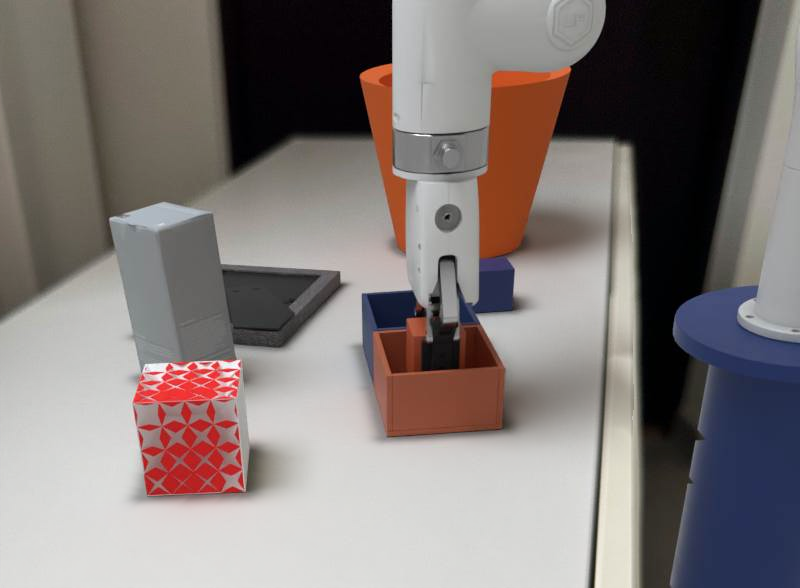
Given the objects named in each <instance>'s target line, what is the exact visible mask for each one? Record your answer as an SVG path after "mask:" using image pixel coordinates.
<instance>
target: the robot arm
mask: <svg viewBox="0 0 800 588" xmlns="http://www.w3.org/2000/svg"><path fill="white" fill-rule="evenodd" d="M391 3H392V4H391V9H392V11H391V13H392V14H391V20H392V23H391V25H392V27H391V30H392V31H391V33H392V34H391V36H392V37H391V38H392V39H391V43H392V44H391V46H392V47H391V51H392V53H391V54H392V55H391V57H392V59H391V60H392V61H391V62H392V63H391V64H392V126H393V128H392V164H393V174H394V175H396V176H399V177H400V178H404V179H406V253H405V259H406V261H405V262H406V271H407V272H406V274H407V278H408V282H409V284H410V285H409V286H410V287H411V290H413V292H414V294H415V307H414V311H415V318H419V317H421V318H423V317H425V340H422V349H421V372H425V371H440V370H455V369H459V358H460V339H459V338H460V328H459V307H460V306H459V292H460V294H461V295H462V297H463V299H464V301H465V303H468V304H469V305H470V306H474V305H475V304H476V303H477V302H478V300H479V199H478V184H477V176H480V175H482V174H484V173H486V171H487V167H488V149H489V128H490V125H489V124H490V107H491V87H492V74H493V73H495V72H497V71H521V72H535V73H547V72H554V71H558V70H561V69H564V68H567V67H571V66H573V65H574V64H576V63H577V62H579V61H580V60H581V59H583V58H584V57H585V56H586V55H587V54H588V53H589V52H590V51H591V49H592V48H593V47H594V46H595V44H596V43H597V41H598V39H599V37H600V35H601V33H602V30H603V27H604V25H605V20H606V12H607V11H606V9H607V4H606V0H392V2H391ZM794 49H795V51H794V95H793V105H792V113H791V121H790V127H789V132H788V136H787V137H788V138H787V144H786V149H785V154H784V159H783V162H782V167H781V172H780V178H779V182H778V187H777V192H776V196H775V202H774V206H773V212H772V217H771V222H770V227H769V232H768V237H767V242H766V248H765V252H764V258H763V263H762V267H761V273H760V277H759V282H758V285H759V287H758V292H757V297H756V298H753V299H750V300H748V301H746V302H744V303H743V304H742V305H741V306H740V307H739V309H738V314H737V321H738V323H739V324H740V325H741V326H742V327H743V328H744V329H746V330H748V331H749V332H752V333H754V334H756V335H759V336H762V337H765V338H769V339H773V340H778V341H784V342H790V343H800V21H799V22H798V26H797V31H796V38H795V48H794ZM439 297H440V298H439ZM433 317H435V321H433Z"/></svg>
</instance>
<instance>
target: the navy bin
mask: <svg viewBox="0 0 800 588" xmlns="http://www.w3.org/2000/svg"><path fill="white" fill-rule="evenodd" d="M439 298H440V297H439ZM459 306H460V307H459V321H460V323H461V325H462V326H464V325H479V324H481V325H482V323H481V322H480V320H479V318H478V316H477V313H475V312H474V311H473V309H472V307H471V306H470V305H469V304H468V303H465V301H464V299H463V297H462V295H461V294H460V292H459ZM414 307H415V294H414V292H413V290H412V289H407V290H393V291H392V290H391V291H390V290H389V291H380V292H379V291H378V292H363V293H361V333H362V334H361V335H362V338H361V339H362V350H363V353H364V357H365V362H366V364H367V368H368V372H369V375H370V379H371V383H372V386H373V388H374V367H373V331H378V332H379V331H388V330H403V329H406V319H407V318H415V311H414ZM419 318H421V317H419Z"/></svg>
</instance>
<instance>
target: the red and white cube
mask: <svg viewBox="0 0 800 588" xmlns="http://www.w3.org/2000/svg"><path fill="white" fill-rule="evenodd" d="M244 381H245V380H244V371H243V359H236V360H220V361H199V362H177V363H157V364H145V366H144V369H143V372H142V374H141V375H140V378H139V381H138V385H137V388H136V391H135V394H134V397H133V400H132V409H133V415H134V420H135V421H134V422H135V427H136V435H137V440H138V447H139V452H140V453H139V454H140V460H141V466H142V472H143V473H142V474H143V478H144V479H143V480H144V484H145V492H146V496H147V497H157V496H159V497H160V496H179V495H180V496H181V495H201V494H203V495H204V494H225V493H246V492H247V481H248V472H249V471H248V470H249V459H250V449H251V447H250V438H249V423H248V413H247V403H246V391H245V382H244Z"/></svg>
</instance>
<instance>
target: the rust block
mask: <svg viewBox="0 0 800 588" xmlns="http://www.w3.org/2000/svg"><path fill="white" fill-rule="evenodd" d="M433 321H435V317H433ZM459 328H460V338H459V339H460V358H459V369H464V367H465V343H466V332H465V330H464V328H463V327H462V325H461V323H460V321H459ZM422 340H425V317H423V318H407V319H406V368H407V371H408V373H410V372H421V349H422Z"/></svg>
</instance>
